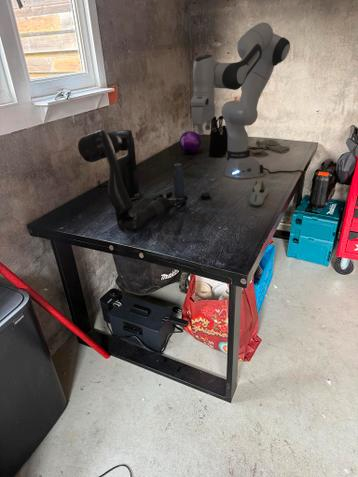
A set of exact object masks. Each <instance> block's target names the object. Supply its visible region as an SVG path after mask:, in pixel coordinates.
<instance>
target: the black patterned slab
mask: <svg viewBox="0 0 358 477" xmlns="http://www.w3.org/2000/svg"><path fill="white" fill-rule="evenodd" d="M216 119H217V121H216V123H215V126H214V128H213V129H214V130H213V129H212V131H211V130H210V132H211V139H210V138H209V139H210V140H209V149H208V156H210V157H214V158H222V157H224V156H226V152H227V149H228V136H227V129H226V125H223V122H224V118H223V116H222V115H219V117H217V118H216ZM216 124H218V128H217V129H215V128H216Z"/></svg>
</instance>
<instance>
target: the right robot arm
mask: <svg viewBox="0 0 358 477" xmlns="http://www.w3.org/2000/svg"><path fill="white" fill-rule="evenodd" d="M290 49H291V43H290V40H289V39H287V38H286V37H283V36H281V35H279V34H276V33H274V31H273V28H272V26H271V24H269V23H267V22H259V23H257V24H255V25H254V26H253V27H250V28H249V29H248V30H247V31H245V32H244V34H243V35H242V36H241V37H240V38H239V39H238V41H237V44H236V50H237V54H238V56H239V58H240V60H239V61H238V62H237V61H236V62H220V61H217V60H216V59H214V56H213V54H204V55H198V56H197V57H196V58H195V59H194V60H193V65H192V67H193V68H192V82H193V86H194V87H193V96H192V98H191V99H190V101H189V105H190V107H191V121H192V124H193V126H196V128H197V131H198V135H199V136H201V135H204V128H203V127H204V124H205V130H206V131H210V130H211V119H212V118H214V116H216V107H215V106H216V105H215V89H227V90H233V91H236V90H237V91H238V90H239V89H240V91H241V93H240V97H239V100H229V101H226V102H224V104H223V105H222V107H221V111H220V112H221V113H220V114H221V116H223V118H224V119H223V121H224V124H225V126H226V129H227V136H228V149H227V152H226V154H225V159H226V165H225V169H224V172H223V174H224V176H225V177H228V178H232V179H233V178H234V179H237V180H243V179H250V178H258V177H259V178H260V177H263V176H264V175H265V172H264V170H265V171H267V172H268V173H269V174H277V173H298V172H300V173H302V174H305V171H304V170H301V169H297V170H295V169H294V170H277V171H270V169H268V168H265V167H264V165H263V164H260V162H259V161H258V160H257V159H256V158H255V157H254V156H251V155H252V154H253V152H252V151H251V150H249V149H247V147H248V146H249V144H248V142H249V134H248V132H247V130H246V127H249V126H252V125H254V124H255V123H256V121H257V120H258V116H259V114H258V113H259V112H258V109H257V108H258V105H259V100H260V97H261V95H262V94H263V92H264V90H265V88H266V86H267V84H268V82H269V80H270V79H271V76H272V74H273V72H274V69H275V67H276V66H278V64H281V63H283V61H285V59H287V57H288V55H289V52H290Z"/></svg>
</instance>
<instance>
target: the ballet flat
mask: <svg viewBox="0 0 358 477" xmlns="http://www.w3.org/2000/svg"><path fill="white" fill-rule="evenodd" d="M268 194H269V189H268V186H267V183H266V182H265V181H264V180H262V179H257V180H255V181H254V182H253V184H252V187H251V190H250V196H249V204H250V205H251V206H252V207H260V206H261V205H263V203H264V201H265V198H266V196H267V195H268Z"/></svg>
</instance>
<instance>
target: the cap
mask: <svg viewBox="0 0 358 477" xmlns="http://www.w3.org/2000/svg"><path fill="white" fill-rule="evenodd" d="M210 195H211V194H210V193H209V192H202V193H200V199H201V200H203V201H207V200H210V198H211V196H210Z"/></svg>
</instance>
